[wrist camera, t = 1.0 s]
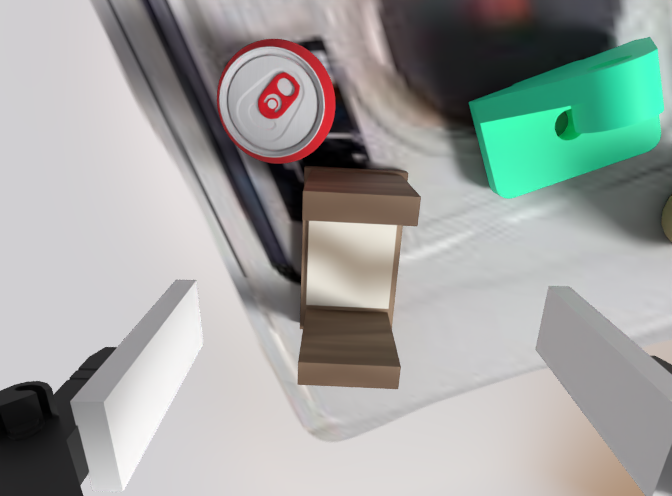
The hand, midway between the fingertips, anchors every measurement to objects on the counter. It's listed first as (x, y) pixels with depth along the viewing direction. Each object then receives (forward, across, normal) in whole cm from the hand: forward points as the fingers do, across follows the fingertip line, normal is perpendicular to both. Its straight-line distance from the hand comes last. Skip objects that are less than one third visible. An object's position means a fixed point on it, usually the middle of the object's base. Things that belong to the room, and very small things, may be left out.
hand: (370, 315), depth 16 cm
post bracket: (+19, 0, -5) cm, 20 cm away
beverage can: (+20, -5, +7) cm, 22 cm away
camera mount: (+20, +15, +6) cm, 26 cm away
